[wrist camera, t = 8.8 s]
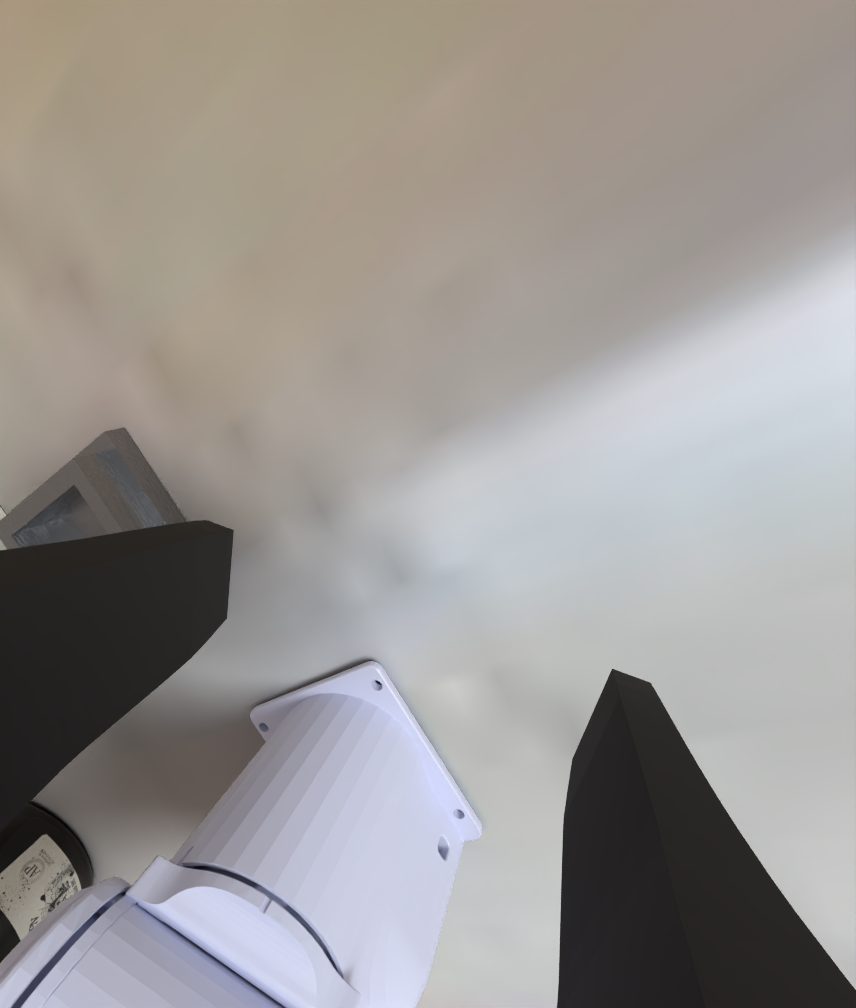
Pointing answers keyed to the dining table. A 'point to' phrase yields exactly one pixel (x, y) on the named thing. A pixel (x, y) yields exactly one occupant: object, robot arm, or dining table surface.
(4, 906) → the ink bottle
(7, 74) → the dining table surface
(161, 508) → the socket base
